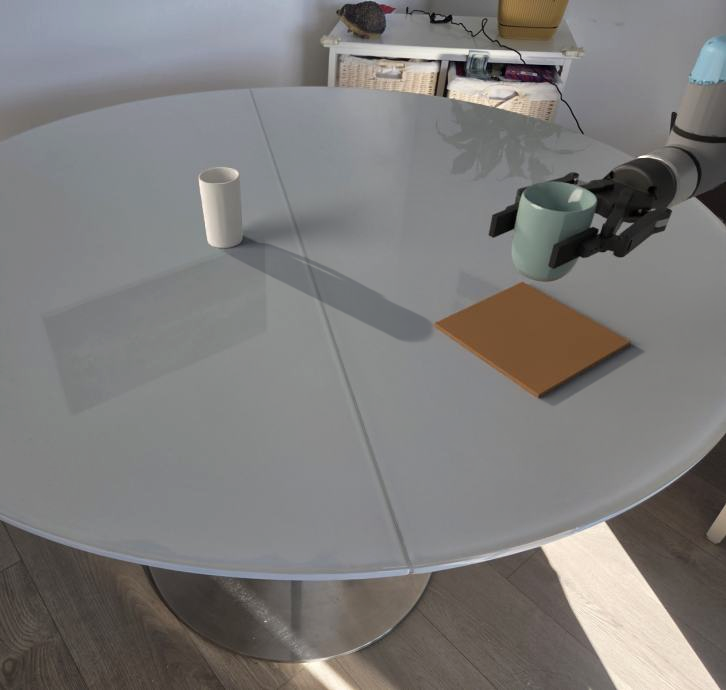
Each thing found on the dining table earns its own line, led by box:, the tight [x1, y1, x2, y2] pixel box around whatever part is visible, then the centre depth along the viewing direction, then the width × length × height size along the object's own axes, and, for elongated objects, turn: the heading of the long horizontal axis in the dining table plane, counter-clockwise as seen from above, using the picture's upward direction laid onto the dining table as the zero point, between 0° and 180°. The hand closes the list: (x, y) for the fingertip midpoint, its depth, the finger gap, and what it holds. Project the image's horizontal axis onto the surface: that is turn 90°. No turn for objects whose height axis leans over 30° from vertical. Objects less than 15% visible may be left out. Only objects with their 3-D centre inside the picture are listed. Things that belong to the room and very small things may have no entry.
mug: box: [198, 166, 244, 249], centre depth 110 cm, size 10×7×12 cm, turn 2°
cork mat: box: [433, 281, 632, 399], centre depth 87 cm, size 18×18×1 cm
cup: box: [510, 181, 597, 283], centre depth 74 cm, size 8×8×10 cm
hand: (522, 241), depth 71 cm, fingers closed on cup, 8 cm apart
